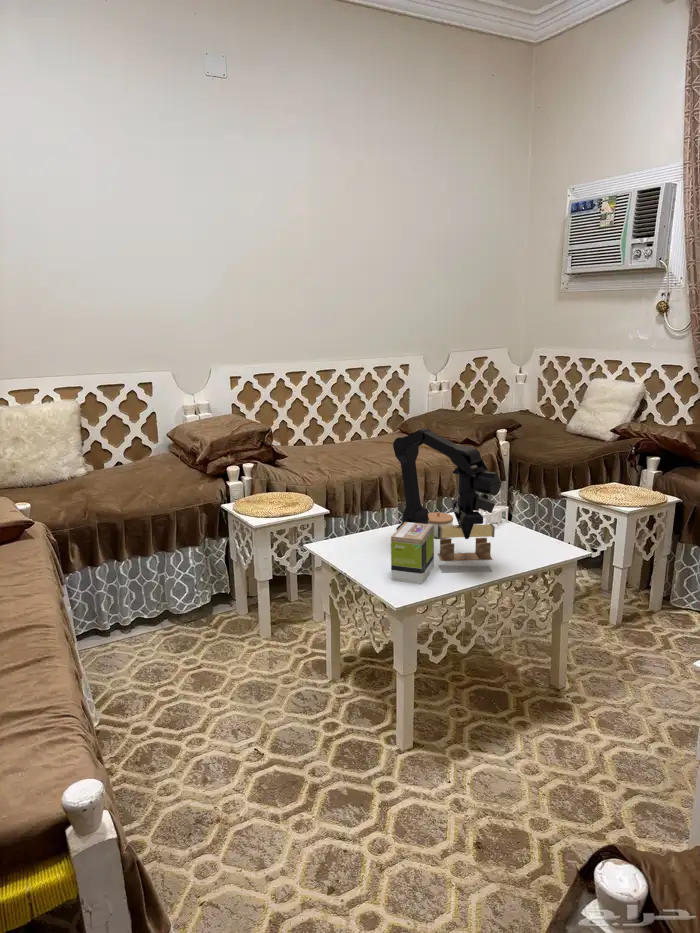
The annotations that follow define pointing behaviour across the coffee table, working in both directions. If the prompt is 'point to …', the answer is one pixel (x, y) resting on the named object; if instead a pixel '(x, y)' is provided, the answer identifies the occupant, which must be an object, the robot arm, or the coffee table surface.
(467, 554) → the stand
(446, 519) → the lidded jar
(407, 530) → the tea box
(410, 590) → the coffee table surface
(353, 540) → the coffee table surface
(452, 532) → the rail
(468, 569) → the mat
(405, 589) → the coffee table surface
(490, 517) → the skeletal toy car
